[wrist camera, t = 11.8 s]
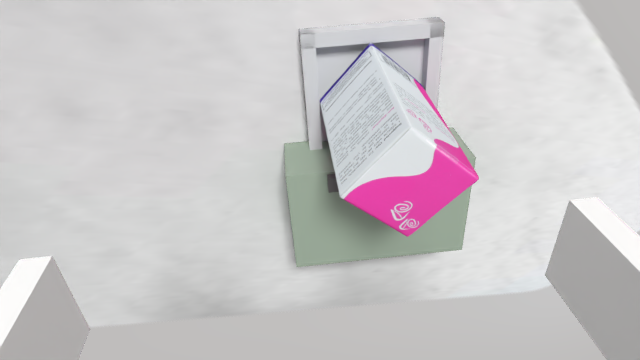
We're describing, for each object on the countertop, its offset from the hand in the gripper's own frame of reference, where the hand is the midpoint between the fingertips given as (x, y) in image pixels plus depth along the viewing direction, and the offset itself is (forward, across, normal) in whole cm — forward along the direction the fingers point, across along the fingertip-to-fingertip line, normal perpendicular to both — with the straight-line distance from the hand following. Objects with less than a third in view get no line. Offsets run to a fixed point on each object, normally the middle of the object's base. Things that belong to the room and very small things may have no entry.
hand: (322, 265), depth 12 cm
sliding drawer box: (+23, +6, -9) cm, 26 cm away
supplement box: (+22, +6, -5) cm, 24 cm away
